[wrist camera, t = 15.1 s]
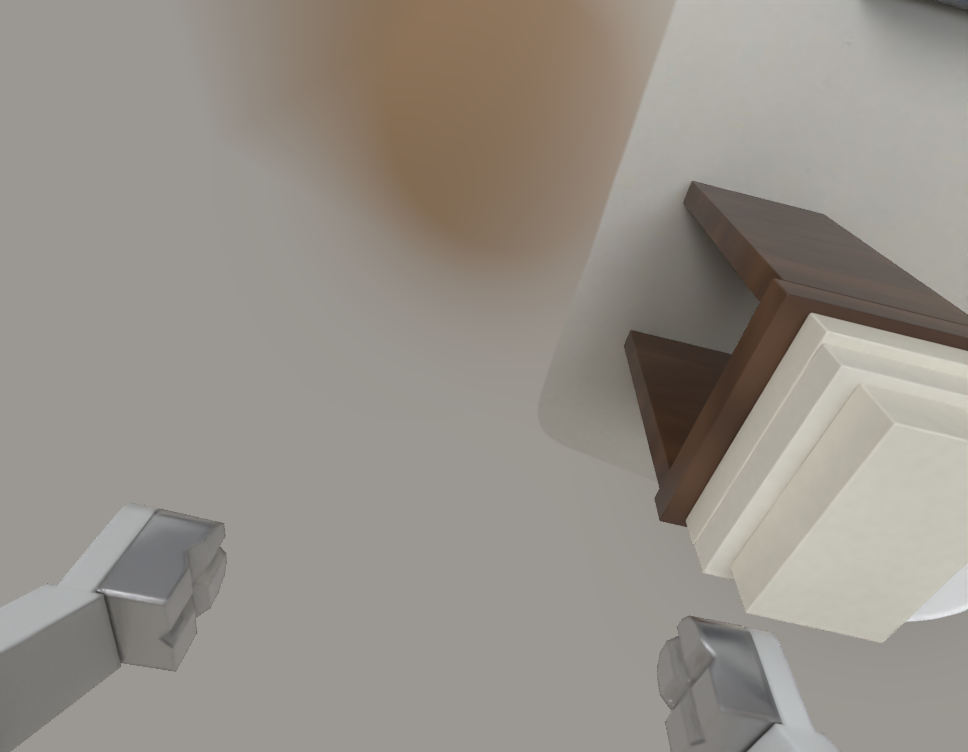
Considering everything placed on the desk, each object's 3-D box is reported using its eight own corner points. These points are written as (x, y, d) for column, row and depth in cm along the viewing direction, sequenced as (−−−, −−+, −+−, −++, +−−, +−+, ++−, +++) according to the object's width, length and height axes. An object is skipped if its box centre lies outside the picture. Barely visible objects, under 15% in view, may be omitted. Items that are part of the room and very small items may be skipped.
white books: (809, 311, 24) (848, 354, 21) (997, 357, 24) (1062, 406, 21) (684, 520, 31) (700, 575, 28) (831, 553, 31) (863, 611, 28)
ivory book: (859, 381, 21) (895, 423, 19) (1018, 420, 22) (1072, 465, 20) (728, 566, 27) (745, 614, 25) (855, 594, 28) (882, 644, 25)
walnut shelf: (685, 179, 40) (787, 293, 24) (831, 216, 41) (1033, 354, 24) (618, 344, 48) (659, 521, 31) (741, 374, 48) (848, 564, 32)
